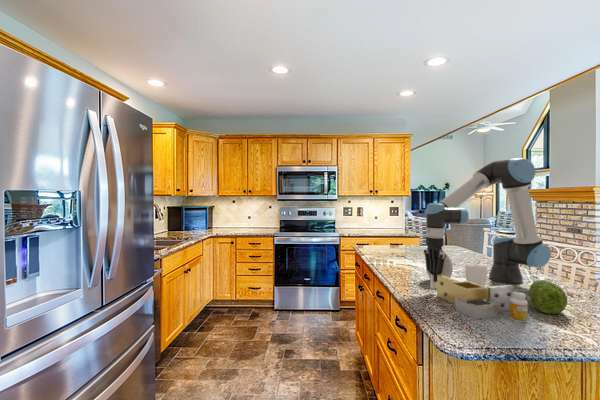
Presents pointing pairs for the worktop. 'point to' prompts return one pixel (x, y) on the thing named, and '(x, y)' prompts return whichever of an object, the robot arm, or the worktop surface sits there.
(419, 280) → the worktop surface
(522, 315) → the supplement bottle
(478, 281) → the cup
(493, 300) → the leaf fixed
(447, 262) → the vase
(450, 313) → the worktop surface
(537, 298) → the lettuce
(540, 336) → the worktop surface
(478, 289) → the beige square frame
